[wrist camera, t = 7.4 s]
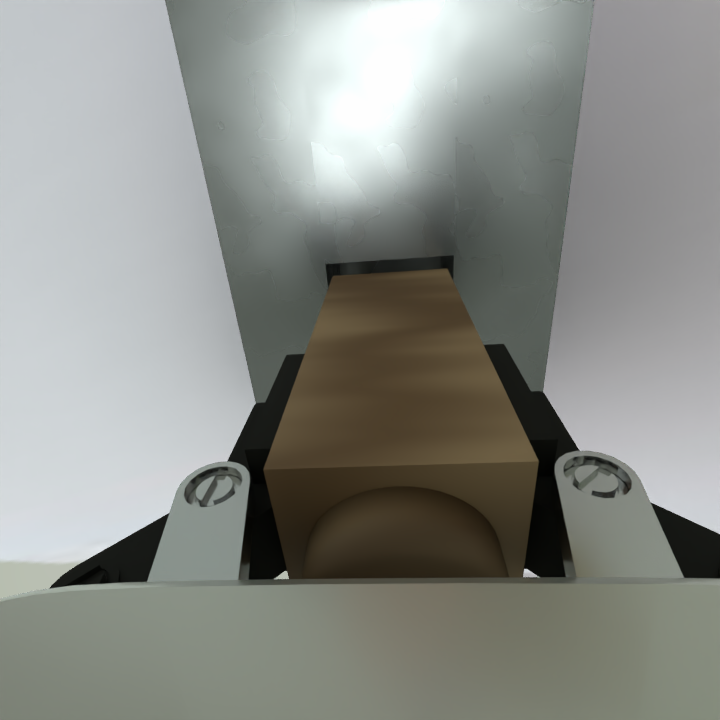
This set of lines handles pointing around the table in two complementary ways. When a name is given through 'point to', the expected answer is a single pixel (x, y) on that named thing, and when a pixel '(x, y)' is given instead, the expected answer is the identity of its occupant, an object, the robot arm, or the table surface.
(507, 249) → the block
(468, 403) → the walnut plug
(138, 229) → the table surface
